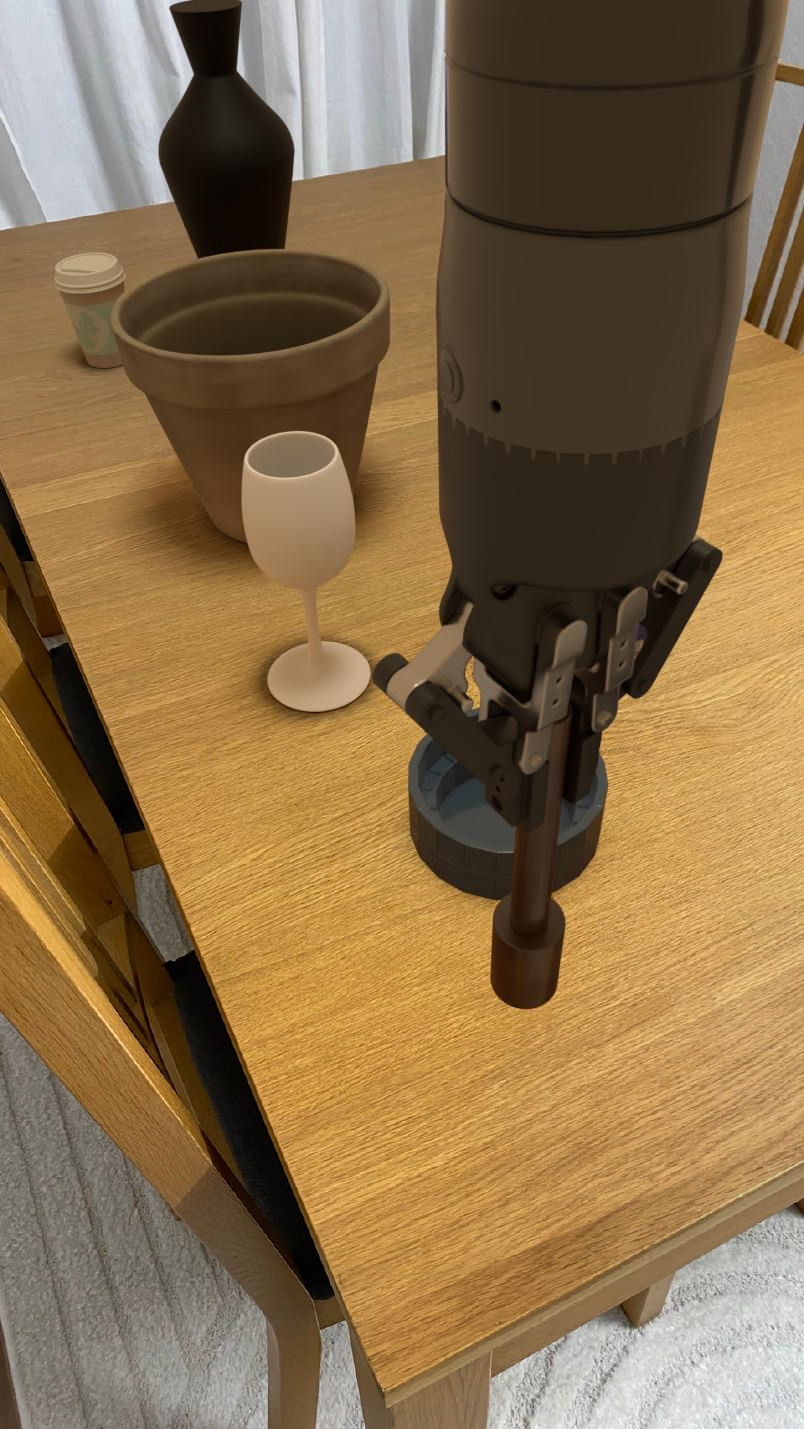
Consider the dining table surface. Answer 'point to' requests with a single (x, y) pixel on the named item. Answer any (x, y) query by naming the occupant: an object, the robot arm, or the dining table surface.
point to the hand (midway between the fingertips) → (540, 799)
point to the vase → (225, 142)
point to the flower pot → (254, 359)
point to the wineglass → (304, 557)
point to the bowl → (487, 825)
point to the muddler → (533, 900)
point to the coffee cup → (92, 302)
